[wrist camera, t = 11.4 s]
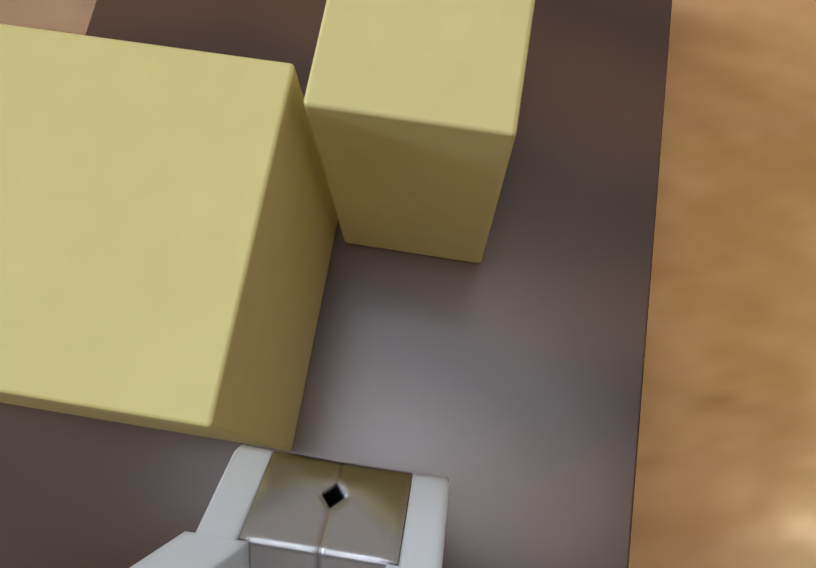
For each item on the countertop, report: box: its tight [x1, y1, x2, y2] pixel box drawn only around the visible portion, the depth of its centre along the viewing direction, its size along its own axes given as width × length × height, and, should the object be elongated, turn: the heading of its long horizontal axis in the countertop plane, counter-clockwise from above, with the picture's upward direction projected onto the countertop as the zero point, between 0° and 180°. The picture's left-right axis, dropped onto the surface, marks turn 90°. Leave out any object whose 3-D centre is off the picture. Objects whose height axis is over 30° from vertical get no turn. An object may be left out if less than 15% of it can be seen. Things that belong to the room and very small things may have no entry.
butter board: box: [0, 0, 672, 568], centre depth 18 cm, size 22×16×1 cm
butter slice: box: [303, 0, 535, 263], centre depth 16 cm, size 6×4×7 cm, turn 171°
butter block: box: [0, 24, 338, 451], centre depth 15 cm, size 6×8×7 cm
